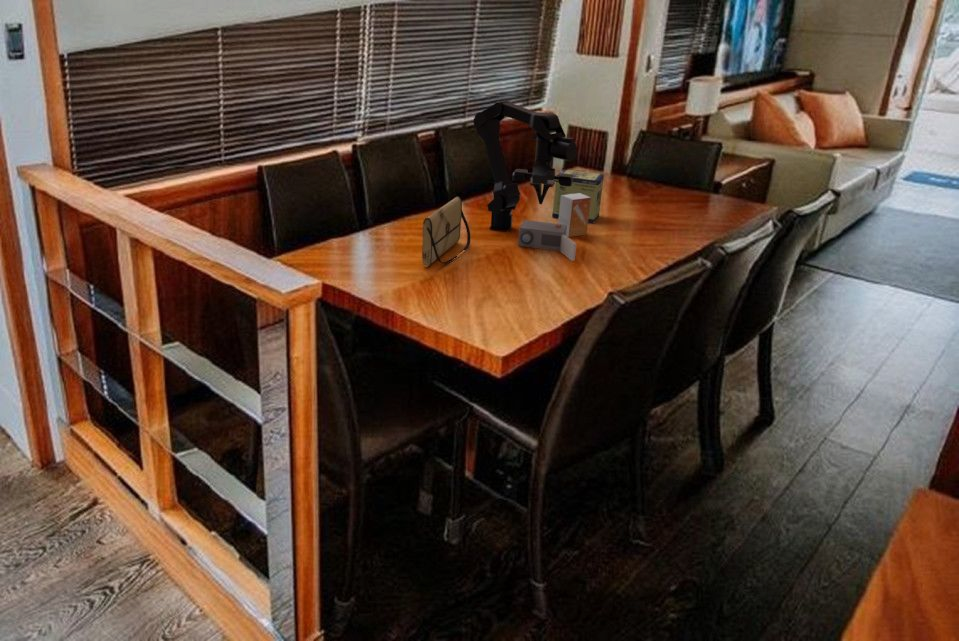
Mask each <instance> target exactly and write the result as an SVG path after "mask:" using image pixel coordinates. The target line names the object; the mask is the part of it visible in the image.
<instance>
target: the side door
mask: <svg viewBox="0 0 959 641" xmlns="http://www.w3.org/2000/svg"><path fill="white" fill-rule="evenodd" d="M559 252H560V253H561V254H562V255H564V256H565V257H567V258H568V259H569V260H570V261H571V262H575V260H576V253H577V243H576V242H574V240H572V239H571V238H570V237H567V236H565V235H564V234H562V237H561V247H560V251H559Z"/></svg>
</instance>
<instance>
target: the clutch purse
mask: <svg viewBox="0 0 959 641" xmlns="http://www.w3.org/2000/svg"><path fill="white" fill-rule="evenodd" d="M462 222H463V223H464V224H463V225H464V227H465V229H466V236H467V240H466V245H465V246H464V248H463V249H462V250H461V251H460V252H462V251H463V250H466V249H467V250H468V248H469V247H470V245H471V230H470V227H469V224H468V221H467V219H466V215H465V214H464V212H463V203H462V198H461V197H460V196H455V197H454V198H452V200H450V201H448V202H447V203H446V204H444V205H443V206H441V207H440V208H438V209H437V210H436V211H434V212H433V213H431V214H429V215H428V216H427V217H426V218H424V220H423V222H422V223H423V225H422V247H421V248H422V249H421V250H422V252H421V254H422V255H421V256H422V258H421V260H422V263H423V266H424V265H425V266H429V267H430V266H431V265H432V264H433V263H434V262H435V261H436V260H437V261H438V262H439V263H441V264H449V263H451V262H453V261H454V260H453V259H454V258H456V257H457V256H456V255H455V256H452V258H450V259H448V260H445V261H441V259H440V257H441V256H442V255H444V254H445V253H446V252H447V251H449V249H450V248H452V247H453V246H454V245H455V244H456V242H457V243H458V242H459V241H460V237H461V226H462V224H461V223H462ZM467 250H466V251H467ZM456 259H457V258H456ZM452 260H453V261H452ZM450 261H451V262H450ZM431 263H432V264H431ZM425 266H424V267H425Z"/></svg>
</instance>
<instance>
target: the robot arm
mask: <svg viewBox="0 0 959 641" xmlns="http://www.w3.org/2000/svg"><path fill="white" fill-rule="evenodd" d="M506 117H508V118H510V119H512V120H515V121H518V122H521V123H523V124H526V125H527V126H529V127H530V128H531V130H533V131H534V132H535V133H534V134H533V135H531V136H530V138H531V139H532V140H535V141H536V148H535V159H534V165H533V168H532V172H528V169H525V168H523V169H522V168H516V169H515V170H514V172H512V178H511V179H510V176H509V172H508V169H507V165H506V161H505V157H504V153H503V149H502V146H501V142H500V138H499V137H500V131H501V121H503V120H504V119H505V118H506ZM472 120H473V122H472V123H473V126H474V128H475V131H476V133H477V135H478V136H479V137H480V138H481V139H482V140H483V142H484V146H485V149H486V154H487V157H488V161H489V164H490V168H491V172H492V177H493V181H494V186H493V190H492V193H493V195H492V196H493V199H492V200H491V201H490V202H488V203H487V205H486V206H487V211H488V212H491V215H490V216H491V217H490V218H491V219H490V226H489V230H491V231H492V230H493V231H494V230H495V231H501V232H509V231H510V229H512V226H513V219H514V218H513V216H514V215H513V214H512V211H514V210H515V209H516V207H517V205H519V202H520V200H521V196H520V195H521V192H520V190H519V184H518V183H517V182H520V183H521V182H523V181H524V180H527V179H528V180H530V183H529V185H530V186H532V187H533V188H534V190H535V192H536V196H537V200H538V203H539V204H538V205H543V202H544V200H545V198H546V197H547V193H548V191H549V189H550V188H553V187H555V183H556V182H559V184H560V185H561V186H571V185H572V183H573V175H572V174H565V173H561V175H560V176H556V168H553V167H554V160H555V159H558V160H563V161H568V162H573V161H574V160H575V158H576V157H577V155H578V147H577V144H576V143H575V138H573V137H567V136H566V134H565V131H564V128H563V127H562V124H561V122H560V118H559V116H558V115H557V114H555V113H551V112H550V113H549V112H539V111H534V110H532V109H529V108H527V107H523V106H522V105H521V106H520V105H519V104H515V103H513V102H511V101H509V100H498V101H496V102H495V103H493V105H490V106H489V107H487V108H486V109H484V110H482V111H480V112H477V113H475V115H474V117H473V119H472ZM512 181H513V182H512Z"/></svg>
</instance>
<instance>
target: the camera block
mask: <svg viewBox="0 0 959 641" xmlns="http://www.w3.org/2000/svg"><path fill="white" fill-rule="evenodd" d="M566 230H567V225H565V224H558V223H557V222H556V223H555V222H547V221H538V220H537V221H535V220H527V219H524V220H522V222H521V225H520V226H519V229H518V244H517V246H518V245H519V246H518V247H527V248H533V249H534V248H535V249H542V248H543V249H544V250H550V249H551V250H552V251H558V250H559V252H560V247H561V237H562V234H564V235H565V236H566ZM543 249H542V250H543ZM551 250H550V251H551Z"/></svg>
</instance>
